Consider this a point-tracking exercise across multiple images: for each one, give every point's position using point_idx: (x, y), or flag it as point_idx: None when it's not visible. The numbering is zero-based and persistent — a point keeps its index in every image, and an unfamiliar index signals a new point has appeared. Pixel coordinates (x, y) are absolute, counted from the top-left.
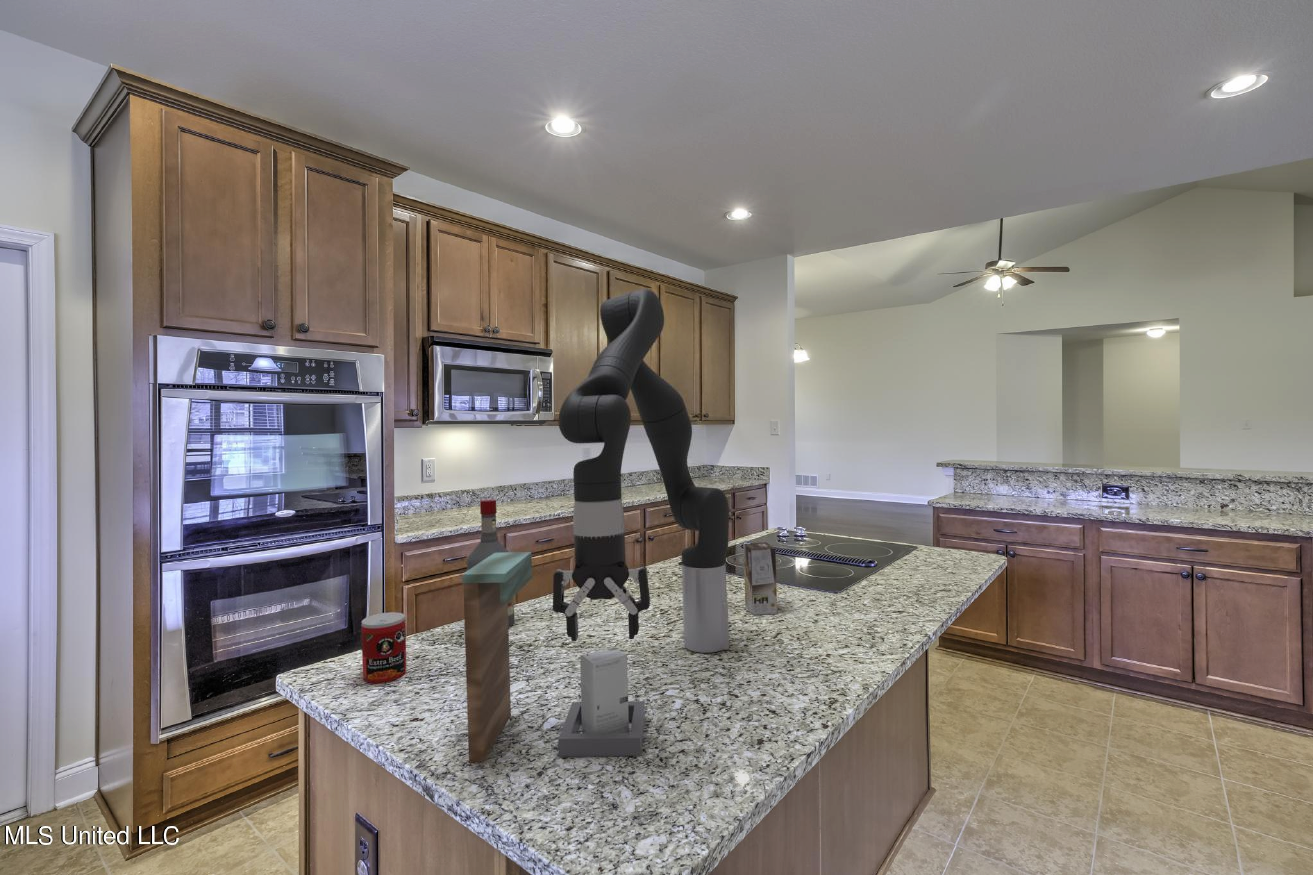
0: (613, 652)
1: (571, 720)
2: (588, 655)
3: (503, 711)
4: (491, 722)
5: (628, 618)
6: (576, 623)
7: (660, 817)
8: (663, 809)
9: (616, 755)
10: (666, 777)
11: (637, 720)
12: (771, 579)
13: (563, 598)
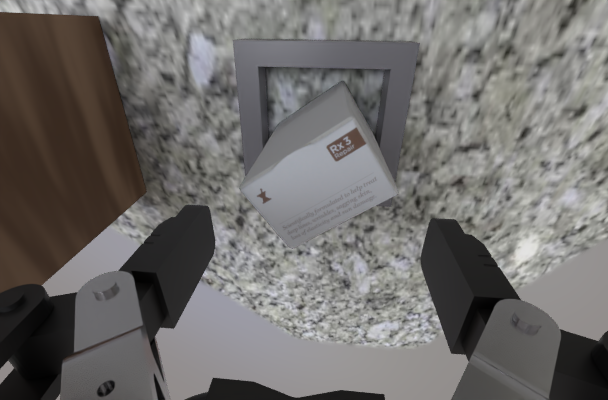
0: (351, 180)
1: (254, 136)
2: (267, 199)
3: (93, 81)
4: (108, 167)
5: (446, 337)
6: (186, 269)
7: (397, 302)
8: (402, 293)
9: None
10: (417, 242)
11: (391, 145)
12: None
13: (11, 355)
